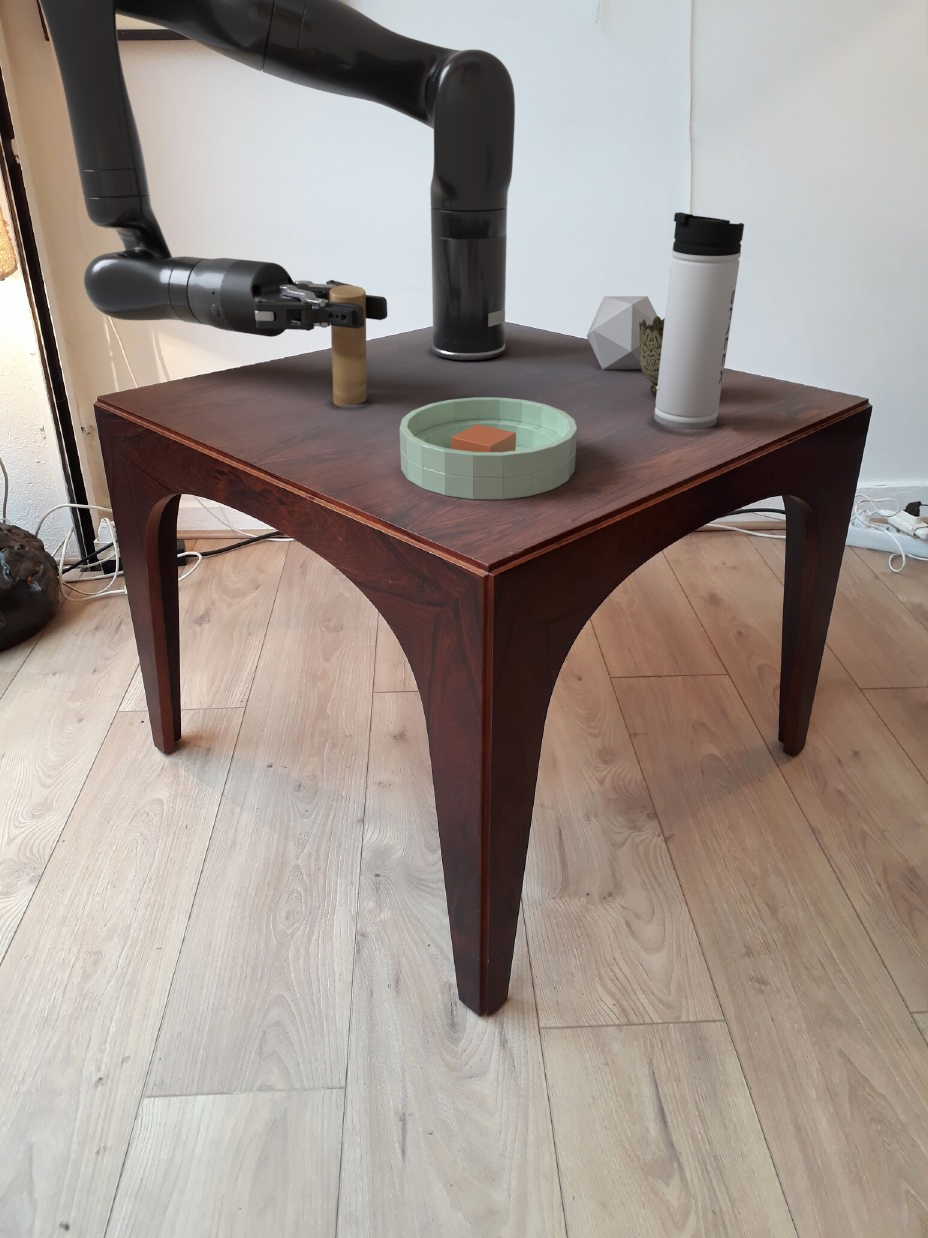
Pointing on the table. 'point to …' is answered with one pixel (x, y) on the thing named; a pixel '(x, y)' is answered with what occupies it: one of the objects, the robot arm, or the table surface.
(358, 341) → the wooden cylinder
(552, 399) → the table surface
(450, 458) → the bowl
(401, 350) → the table surface
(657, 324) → the cup
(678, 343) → the travel mug
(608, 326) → the die
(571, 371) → the table surface
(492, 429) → the block
